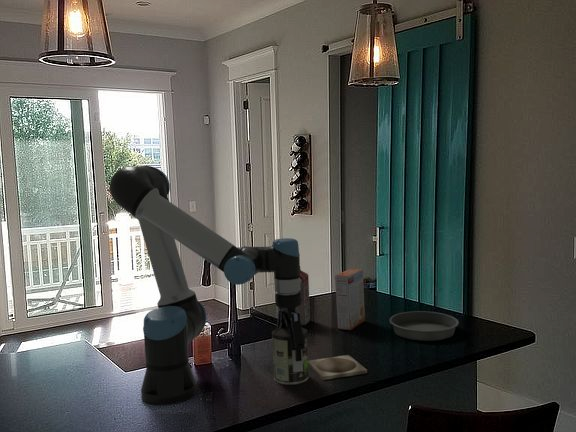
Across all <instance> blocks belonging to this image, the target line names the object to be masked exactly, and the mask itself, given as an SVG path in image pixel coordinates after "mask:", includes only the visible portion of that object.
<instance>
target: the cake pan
mask: <svg viewBox="0 0 576 432" xmlns="http://www.w3.org/2000/svg"><path fill="white" fill-rule="evenodd" d="M389 324H391V325H392V328H393V331H394V333H395V335H397V336H398V337H401V338H403V339H404V338H405V339H408V340H413V341H426V342H427V341H430V342H431V341H441V340H445V339H446V340H447V339H449V338H451V337H453V335H454V334H455V331H456V327H458V325H459V324H460V322H459V319H457V318H456V317H454V316H453V315H449V314H446V313H441V312H436V311H425V310H423V311H422V310H419V311H417V310H416V311H405V312H399V313H397V314H393V315H392V316H391V317H390V318H389Z"/></svg>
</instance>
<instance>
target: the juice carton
mask: <svg viewBox="0 0 576 432" xmlns="http://www.w3.org/2000/svg"><path fill="white" fill-rule="evenodd" d="M300 279H301V280H302V282H301V283H300V288H301V290H300V291H299V292H300V293H301V305H300V306H297V307H296V308H295V310H296V312H297V313H299V314H300V322H301V326H306V325H307V324H308V323H309V322H310V321H311V313H310V311H311V309H310V282H309V274H308V273H307V272H304V271H303V270H302V269H301V268H300Z"/></svg>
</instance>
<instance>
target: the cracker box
mask: <svg viewBox="0 0 576 432" xmlns="http://www.w3.org/2000/svg"><path fill="white" fill-rule="evenodd" d="M334 280H335V283H334V284H335V299H336V300H335V301H336V321H337V329H338V330H345V331H352V330H354V329H355V328H357V327H359V325H361V324H362V323H363V322H365V321H366V312H365V293H364V292H365V291H364V269H361V268H348V269H346V270H345V271H342V272H340V273H337V274H336V275H335V276H334Z"/></svg>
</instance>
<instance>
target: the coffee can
mask: <svg viewBox="0 0 576 432" xmlns="http://www.w3.org/2000/svg"><path fill="white" fill-rule="evenodd" d="M301 328H302V334H303V339H304V345H305V349H302V357H303V371H300V372H293V357H292V350H291V348H292V347H293V345H292V340H291V336H290V332H289V329H288V328H287V327H282V328H278V329H273V330H272V331H271V336H272V354H273V375H274V376H273V380H274V381H275V382H276V383H278V384H280V385H286V386H287V385H288V386H290V385H292V386H293V385H299V384H303V383H305V382H307V381H308V380H309V378H310V376H309V365H308V361H309V358H308V330H307V329H306V328H304V327H301ZM298 345H299V344H298Z"/></svg>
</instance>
